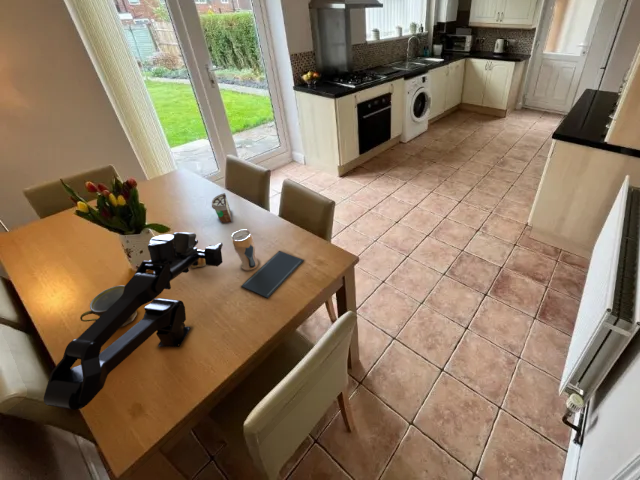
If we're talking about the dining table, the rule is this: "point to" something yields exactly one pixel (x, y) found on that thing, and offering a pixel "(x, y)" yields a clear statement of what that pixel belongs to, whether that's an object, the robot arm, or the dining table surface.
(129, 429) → the dining table surface
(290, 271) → the mat
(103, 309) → the ceramic cup
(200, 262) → the pastry
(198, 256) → the robot arm
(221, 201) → the food container
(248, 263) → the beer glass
